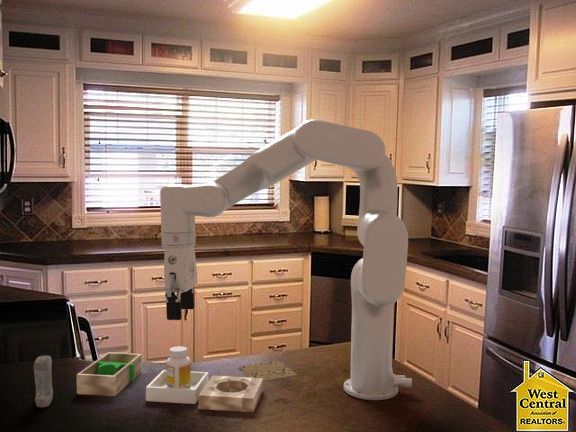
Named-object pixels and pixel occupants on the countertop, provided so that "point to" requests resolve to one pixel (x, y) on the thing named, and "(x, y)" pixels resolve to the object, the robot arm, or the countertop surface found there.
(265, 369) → the speckled tile
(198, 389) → the tray
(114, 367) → the pipe clamp
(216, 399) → the plate
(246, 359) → the countertop surface
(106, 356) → the parts corral
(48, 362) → the stone
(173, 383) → the supplement bottle
